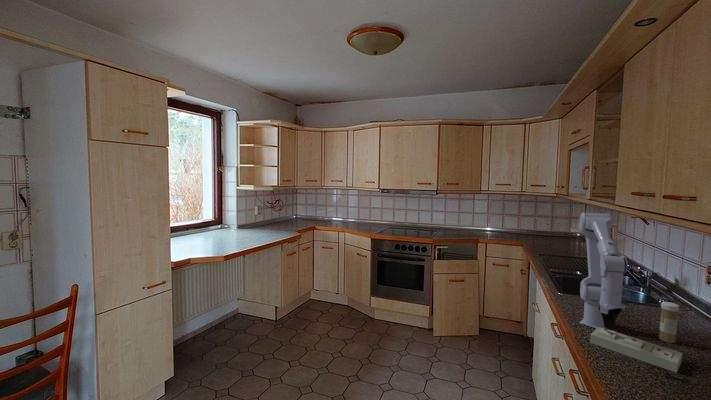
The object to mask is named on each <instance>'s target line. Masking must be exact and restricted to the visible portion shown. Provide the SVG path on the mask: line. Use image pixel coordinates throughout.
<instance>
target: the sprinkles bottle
mask: <svg viewBox="0 0 711 400" xmlns="http://www.w3.org/2000/svg"><path fill="white" fill-rule="evenodd" d="M660 307H661V313H660V318H659V319H660V322H659V332H658V333H659V334H658V339H659V340H660V341H663V342H666V343H670V344H675V343H676V342H677V341H676V338H677V328H678V321H679V320H678V317H679V311H680V305H679V304H678V303H674V302H670V301H662V302H661V304H660Z"/></svg>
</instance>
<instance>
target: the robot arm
mask: <svg viewBox="0 0 711 400" xmlns="http://www.w3.org/2000/svg"><path fill="white" fill-rule="evenodd" d="M612 226H613V217H612V215H611V214H610V213H599V212H598V213H597V212H596V213H594V212H582V213H580V215H579V232H580V234H581V235H583V236H585V243H586V254H587V255H586V257H587V271H588V272H587V273H588V276H587V277H585V278H583V279H582V280H581V281H580V286H579V295H580V298H581V299H582V301H584V304H583V305H584V306H583V307H584V308H583V318H582V320H580V321H579V324H581V325H584V326H587V327H591V328H593V329H595V330H596V329H597V328H598V327H601V328H605V329H608V330H611V331H613V329H614V327H615V324H616V321H617V319H618V317H619V315H620V313H621V312H622V310H623V309H625V308H626V305H625V304H622V298H623V296H622V295H623V282H624V274H626V273H627V271H628V260H627V257H626V256H624V254H621V252H620V249H619V247H618V245H617V243H616V241H615V240H613V239H611V238H612V237H611V234H610V230H611V228H612Z"/></svg>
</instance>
